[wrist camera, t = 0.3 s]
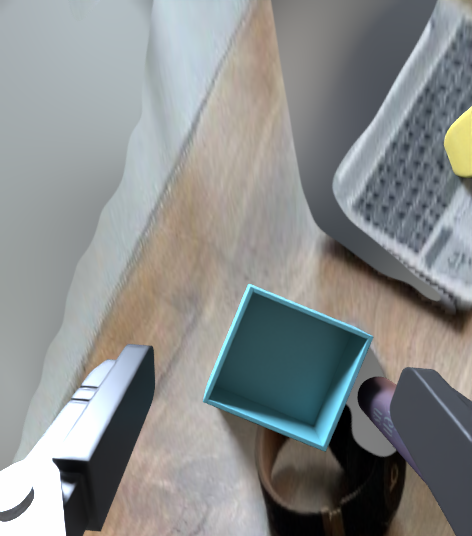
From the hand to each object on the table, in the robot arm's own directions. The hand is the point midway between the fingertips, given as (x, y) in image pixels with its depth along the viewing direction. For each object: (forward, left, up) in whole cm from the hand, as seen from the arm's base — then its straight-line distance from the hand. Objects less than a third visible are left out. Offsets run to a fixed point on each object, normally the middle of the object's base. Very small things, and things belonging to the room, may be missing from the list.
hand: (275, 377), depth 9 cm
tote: (-11, +1, -31) cm, 33 cm away
